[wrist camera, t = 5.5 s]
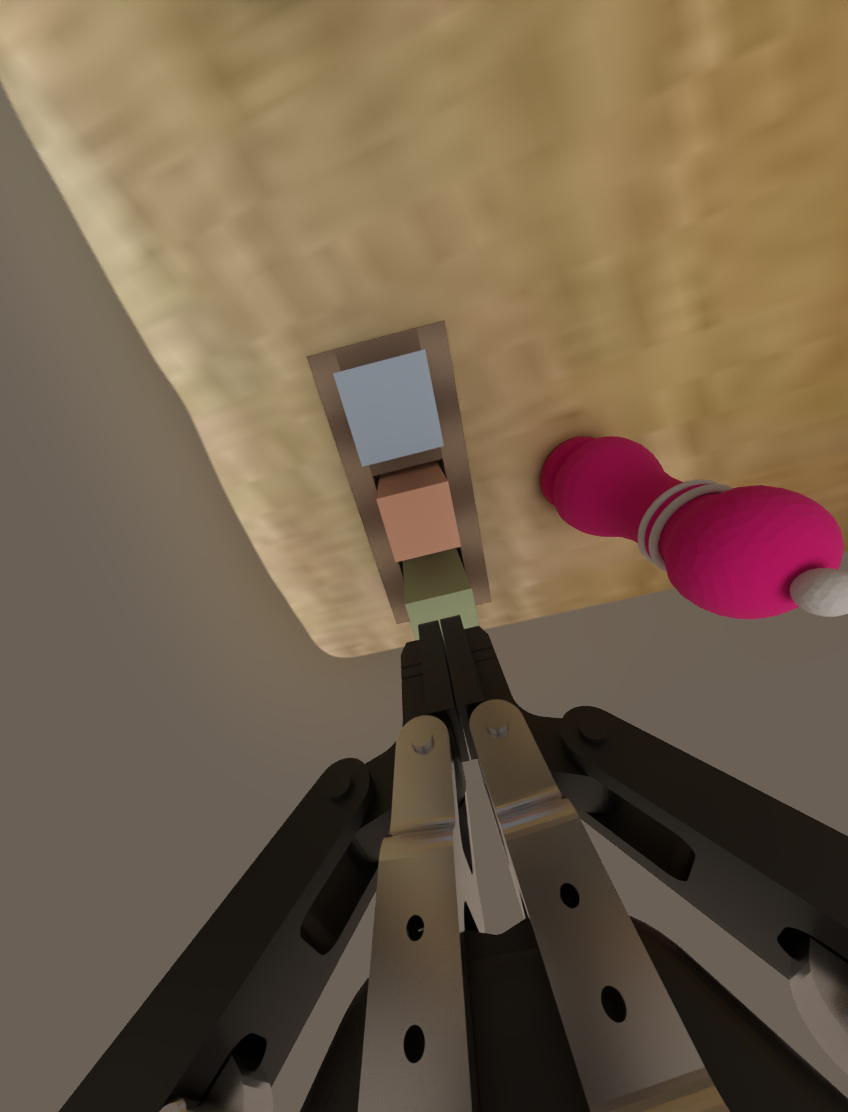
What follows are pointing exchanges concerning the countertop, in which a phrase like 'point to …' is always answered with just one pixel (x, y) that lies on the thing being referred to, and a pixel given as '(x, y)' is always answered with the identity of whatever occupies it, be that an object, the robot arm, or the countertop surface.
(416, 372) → the slate block
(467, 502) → the walnut board
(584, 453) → the pepper mill
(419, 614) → the olive block
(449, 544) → the terracotta block
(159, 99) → the countertop surface
